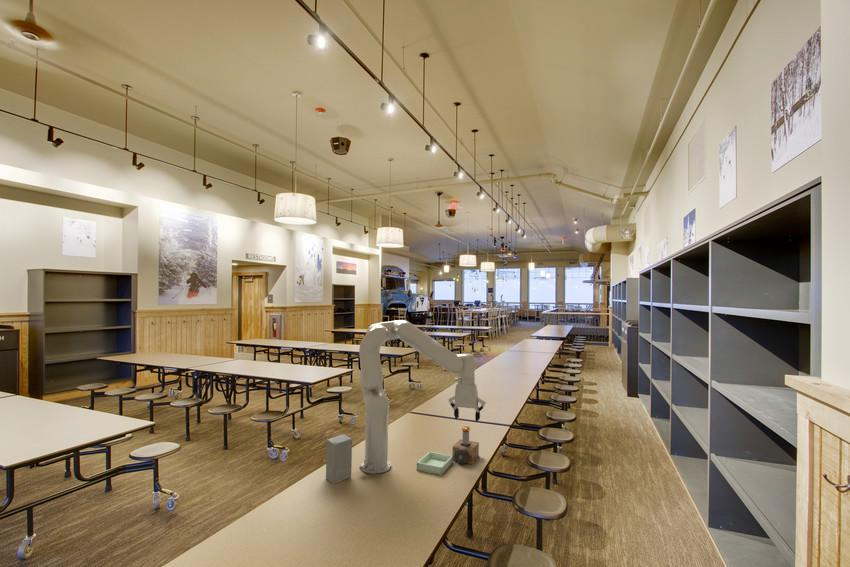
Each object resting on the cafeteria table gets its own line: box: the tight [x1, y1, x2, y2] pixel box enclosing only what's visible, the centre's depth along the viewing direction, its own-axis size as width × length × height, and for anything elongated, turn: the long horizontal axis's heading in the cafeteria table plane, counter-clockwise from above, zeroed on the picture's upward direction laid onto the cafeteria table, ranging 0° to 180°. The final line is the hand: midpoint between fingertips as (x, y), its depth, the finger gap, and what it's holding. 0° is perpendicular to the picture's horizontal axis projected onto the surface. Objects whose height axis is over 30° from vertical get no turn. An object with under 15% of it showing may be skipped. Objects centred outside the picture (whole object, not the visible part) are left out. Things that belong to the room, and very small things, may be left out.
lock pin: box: [461, 425, 471, 447], centre depth 173 cm, size 4×4×14 cm
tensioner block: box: [452, 439, 480, 465], centre depth 171 cm, size 13×9×6 cm
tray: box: [416, 451, 454, 476], centre depth 163 cm, size 13×11×3 cm
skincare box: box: [325, 433, 353, 485], centre depth 152 cm, size 8×7×16 cm
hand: (467, 419), depth 173 cm, fingers open, 9 cm apart
